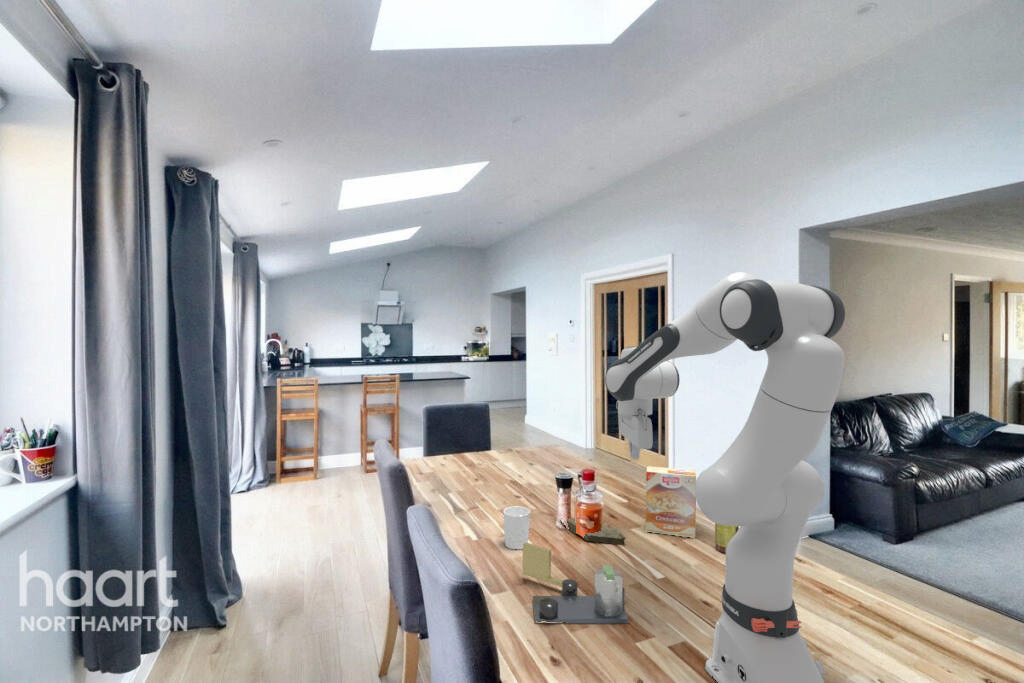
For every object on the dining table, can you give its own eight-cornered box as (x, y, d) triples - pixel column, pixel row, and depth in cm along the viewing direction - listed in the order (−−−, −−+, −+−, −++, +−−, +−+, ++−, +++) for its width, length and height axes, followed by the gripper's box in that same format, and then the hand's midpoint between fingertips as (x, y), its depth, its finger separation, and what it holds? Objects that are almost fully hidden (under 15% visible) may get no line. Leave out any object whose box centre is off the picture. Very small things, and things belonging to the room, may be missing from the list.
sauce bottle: (741, 556, 134) (742, 485, 134) (717, 553, 136) (718, 484, 135) (735, 546, 141) (736, 479, 141) (712, 544, 142) (713, 477, 142)
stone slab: (547, 520, 158) (550, 505, 158) (574, 519, 164) (576, 505, 164) (605, 555, 135) (608, 537, 136) (633, 552, 142) (636, 535, 142)
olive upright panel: (579, 592, 114) (580, 555, 114) (573, 598, 111) (573, 561, 111) (527, 574, 122) (527, 540, 122) (519, 580, 119) (520, 545, 119)
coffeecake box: (645, 532, 150) (645, 471, 150) (645, 524, 157) (646, 465, 156) (695, 539, 145) (696, 475, 145) (694, 530, 152) (695, 469, 152)
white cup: (498, 547, 138) (498, 512, 138) (510, 537, 145) (511, 504, 145) (522, 553, 135) (522, 518, 135) (534, 542, 142) (534, 509, 142)
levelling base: (633, 624, 102) (634, 579, 101) (535, 624, 101) (535, 579, 101) (621, 599, 112) (622, 557, 111) (532, 598, 111) (533, 557, 111)
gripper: (659, 412, 117) (658, 469, 117) (636, 401, 137) (635, 449, 137) (634, 412, 117) (633, 468, 117) (614, 401, 137) (614, 449, 137)
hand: (634, 458), depth 127 cm, fingers closed
